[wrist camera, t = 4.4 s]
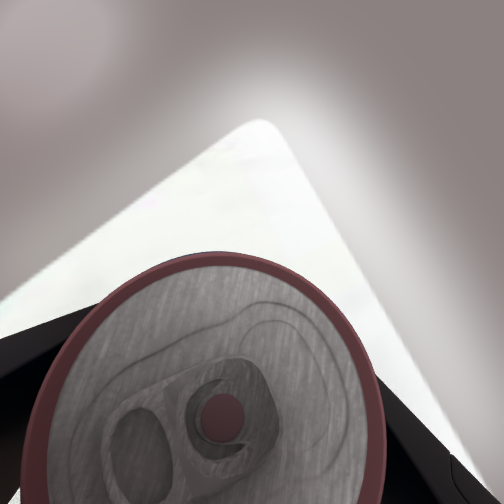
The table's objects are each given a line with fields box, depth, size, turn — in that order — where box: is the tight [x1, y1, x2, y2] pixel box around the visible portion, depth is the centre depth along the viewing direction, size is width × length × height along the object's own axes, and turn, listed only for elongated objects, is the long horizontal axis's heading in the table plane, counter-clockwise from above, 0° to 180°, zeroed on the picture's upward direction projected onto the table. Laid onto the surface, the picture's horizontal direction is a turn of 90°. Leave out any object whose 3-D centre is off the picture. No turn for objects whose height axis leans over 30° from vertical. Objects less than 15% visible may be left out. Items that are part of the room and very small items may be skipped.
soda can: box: [20, 251, 387, 504], centre depth 10 cm, size 7×7×12 cm
